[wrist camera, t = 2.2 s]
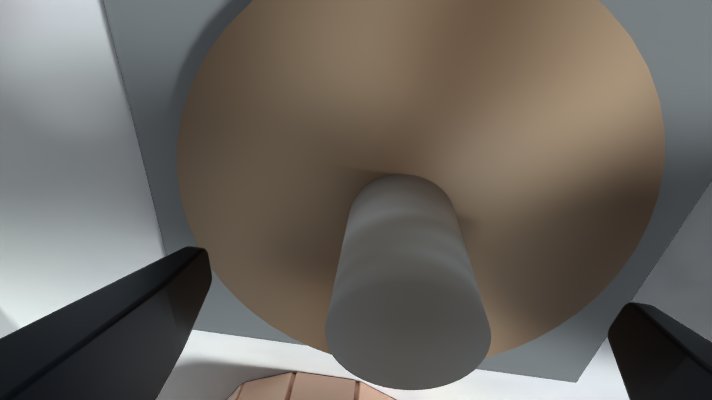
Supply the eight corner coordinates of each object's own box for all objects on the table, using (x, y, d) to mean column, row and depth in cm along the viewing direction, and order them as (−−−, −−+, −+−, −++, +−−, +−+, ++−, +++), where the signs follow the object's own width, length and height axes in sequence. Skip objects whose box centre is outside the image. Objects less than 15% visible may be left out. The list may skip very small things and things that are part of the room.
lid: (766, -28, 7) (1329, -82, 3) (541, 369, 13) (609, 532, 9) (148, -82, 7) (-161, -195, 3) (218, 324, 14) (143, 459, 10)
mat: (843, -49, 7) (867, -52, 7) (571, 373, 14) (575, 382, 14) (89, -112, 8) (74, -117, 7) (189, 320, 15) (184, 328, 14)
